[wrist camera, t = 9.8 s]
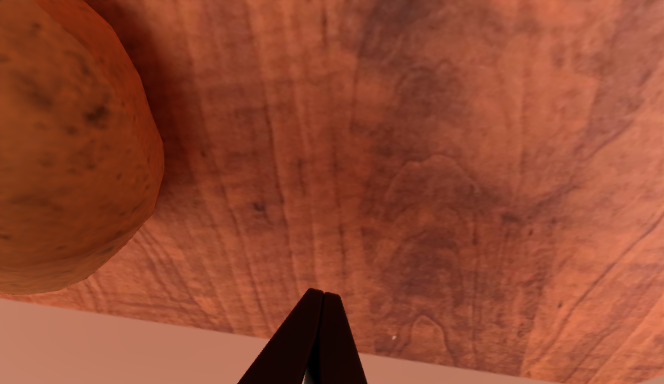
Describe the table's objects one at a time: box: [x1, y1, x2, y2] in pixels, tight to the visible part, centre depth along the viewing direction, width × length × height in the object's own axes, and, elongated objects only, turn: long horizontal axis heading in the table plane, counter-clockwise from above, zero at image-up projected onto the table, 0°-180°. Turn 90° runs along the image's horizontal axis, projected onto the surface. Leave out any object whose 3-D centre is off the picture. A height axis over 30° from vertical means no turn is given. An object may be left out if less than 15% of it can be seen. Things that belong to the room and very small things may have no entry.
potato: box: [0, 0, 164, 295], centre depth 11 cm, size 9×11×8 cm
